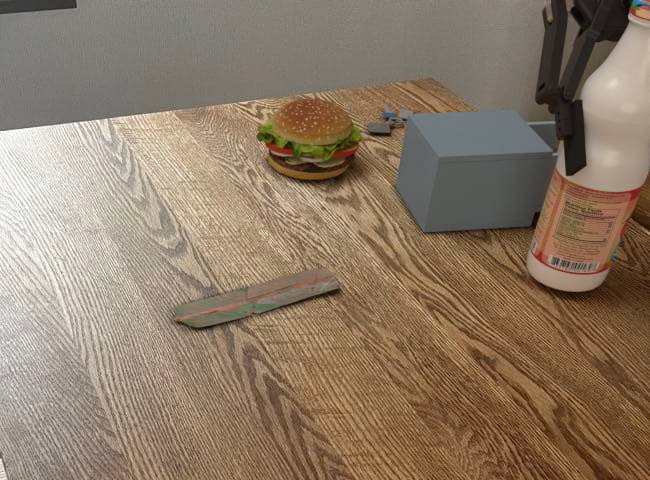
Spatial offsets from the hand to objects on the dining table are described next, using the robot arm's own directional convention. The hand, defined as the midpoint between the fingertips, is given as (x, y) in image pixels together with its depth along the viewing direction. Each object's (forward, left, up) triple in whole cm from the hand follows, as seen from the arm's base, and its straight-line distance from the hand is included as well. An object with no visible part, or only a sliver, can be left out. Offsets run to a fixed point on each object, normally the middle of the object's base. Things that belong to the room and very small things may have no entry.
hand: (620, 168), depth 85 cm
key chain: (+7, -50, -15) cm, 53 cm away
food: (+24, -37, -15) cm, 47 cm away
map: (+37, -3, -15) cm, 40 cm away
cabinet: (+6, -22, -15) cm, 27 cm away
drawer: (-6, -22, -14) cm, 27 cm away
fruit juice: (0, -3, -14) cm, 14 cm away
